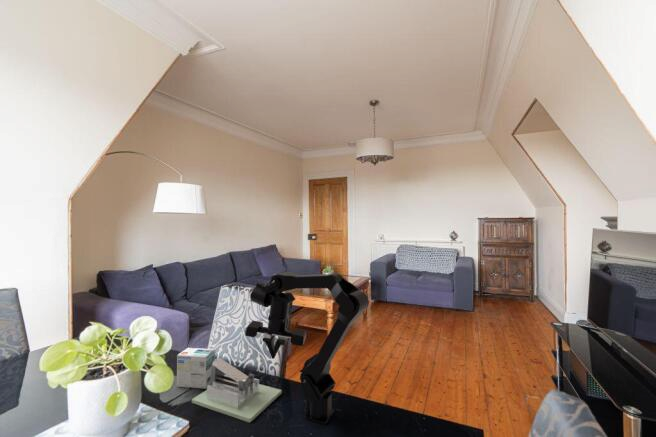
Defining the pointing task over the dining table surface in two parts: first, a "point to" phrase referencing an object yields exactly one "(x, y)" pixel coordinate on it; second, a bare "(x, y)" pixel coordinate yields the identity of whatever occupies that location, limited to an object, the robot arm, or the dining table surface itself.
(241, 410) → the pale green board
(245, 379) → the steel strap
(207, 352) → the light bulb box
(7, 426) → the dining table surface
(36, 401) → the dining table surface
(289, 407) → the dining table surface
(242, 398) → the heat sink
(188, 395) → the dining table surface
